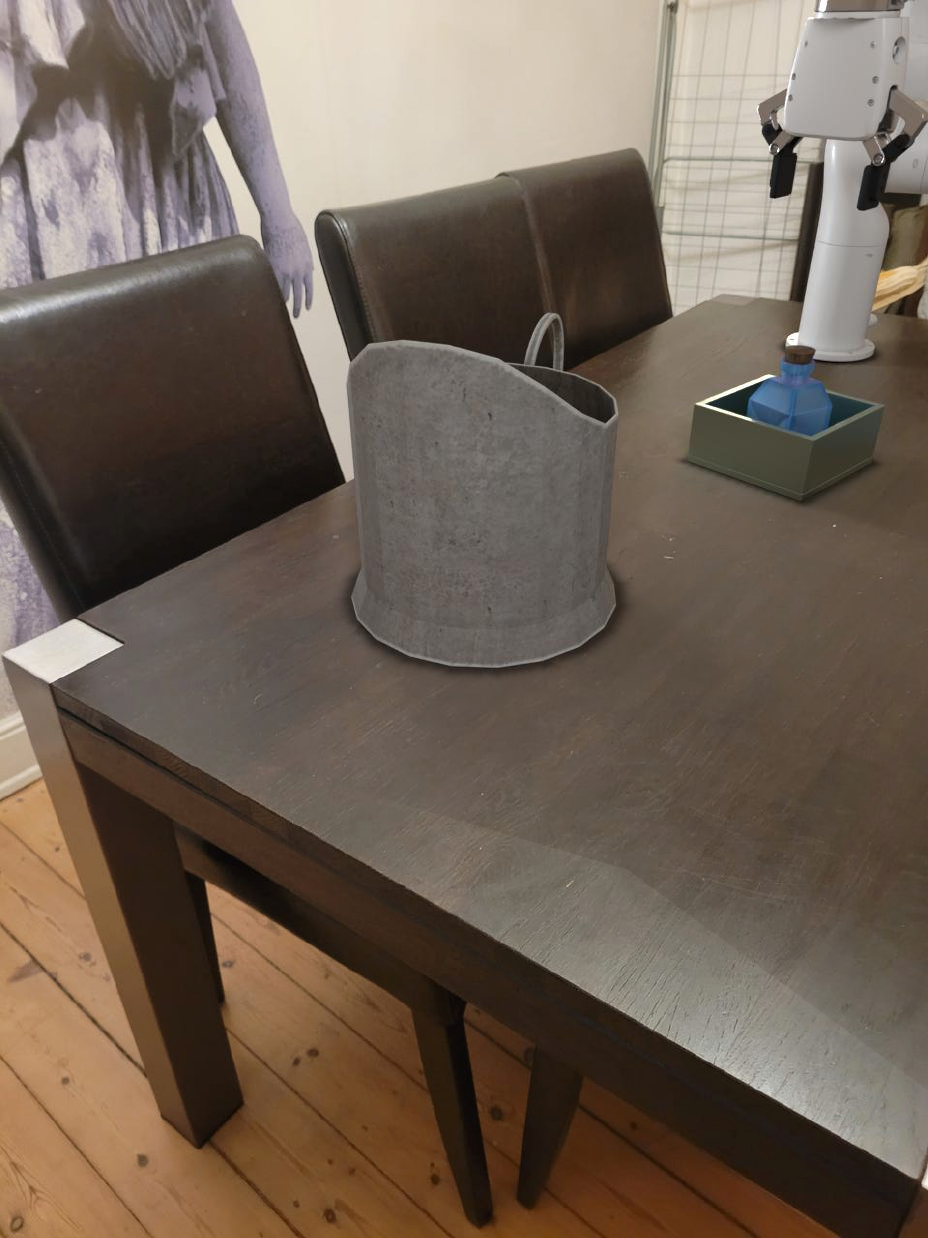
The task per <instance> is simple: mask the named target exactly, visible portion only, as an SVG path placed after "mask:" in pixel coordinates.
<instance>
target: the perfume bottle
mask: <svg viewBox="0 0 928 1238" xmlns="http://www.w3.org/2000/svg"><path fill="white" fill-rule="evenodd" d="M815 352H816V350H815V349H814V348H812V347H809V346H803V345H791V346H787V347H786V346H785V347H784V357H782V358H781V360H780V366H779V370H780V371H781V374H779V375H773V376H774V377H770V378H767V379H766V380H765V382H764V383H763V384H762V385H761V386H760V387H759V388H758V390H757V391H756V392H755V393H754V394H753V395H752V396H751V398H750V399H749V404H748V410H747V416H746V417H749V418H752V419H755V420H758V421H762V422H765V423H768V424H771V425H775V426H778V427H781V428H785V429H788V430H791V431H794V432H798V433H801V434H804V435H808V436H813V435H815V434H817V433H819V432H821V431H824V430H826V429H828V424H829V420H830V415H831V410H832V403H831V401H830V399H829V396H828V394H827V392H826V390H827V389H826V388H825V385H824V384H823V383H824V382H823V381H820V380H818V379H815V378H812V377H811V376H810V375H811V374H813V372H814V370H815V365H816V361H815V359H813V356H814V354H815ZM825 389H826V390H825Z"/></svg>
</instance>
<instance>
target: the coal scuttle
mask: <svg viewBox="0 0 928 1238" xmlns="http://www.w3.org/2000/svg"><path fill="white" fill-rule="evenodd" d="M550 325H551V327H552V332H553V334H552V335H553V361H552V363H553V364H552V368H551V367H548V366H541V365H535V364H536V360H537V356H538V353H539V349H540V345H541V343H542V340H543V338H544V335H545V333H546V331H547V329H548V328H549V326H550ZM564 351H565V334H564V325H563V321H562V318H561V316H560V315H559V314H558V313H554V312H547V313H545V314H544V315H543V316H542V317H541V318H540V319H539V321H538V323H537V324H536V326H535V328H534V330H533V332H532V335H531V338H530V340H529V342H528V346H527V349H526V352H525V357H524V361H523V363H516V362H505V361H503V360H502V359H500V358H498V357H494V356H491V355H487V354H484V353H480V352H476V351H473V350H469V349H466V348H462V347H458V346H453V345H450V344H445V343H444V344H443V343H435V342H426V341H419V340H409V339H398V340H391V341H383V342H372V343H368V344H367V345H366V346H365V347H364V348H363V349H361V351H360V352H359V353H358V354H357V356H355V358H353V360H351V362H350V363H349V365H348V371H347V377H346V383H345V384H346V387H345V388H346V397H347V398H346V399H347V411H348V421H349V434H350V446H351V447H350V448H351V457H352V469H353V470H352V471H353V480H354V481H353V483H354V495H355V505H356V516H357V518H356V519H357V531H358V541H359V553H360V566H361V568H360V570H359V573H358V575H357V579H356V582H355V584H354V588H353V590H352V592H351V596H350V598H351V602H352V605H353V609H354V613H355V617H356V620H357V621H358V622H359V623H360V624H361V625H362V626H363V627H364V628H365V629H366V630H367V631H368V633H370V635H371V636H372V637H373V638H374V639H375V640H376V641H378V642H380V643H382V644H384V645H386V646H388V647H390V648H392V649H394V650H396V651H397V652H400V653H402V654H404V655H406V656H407V657H409V658H410V657H411V658H415V659H419V660H423V661H426V662H430V663H435V664H440V665H444V666H449V667H456V668H457V667H459V668H460V667H461V668H484V669H485V668H487V669H489V668H490V669H500V668H506V667H512V666H520V665H526V664H533V663H539V662H544V661H546V660H549V659H552V658H554V657H557V656H560V655H563V654H564V653H567V652H570V651H573V650H576V649H578V648H580V647H581V646H583V645H584V644H585V643H587V642H588V641H589V640H590V639H592V638H593V637H594V636H596V635H597V634H598V633H600V632H601V631H602V630H604V629H605V627H606V626H607V624H608V621H609V620H610V617H611V616H612V614H613V612H614V610H615V608H616V606H617V602H616V593H615V584H614V581H613V578H612V576H611V572H610V571H609V568H608V566H607V558H608V546H609V534H610V524H611V523H610V522H611V509H612V498H613V487H614V486H613V485H614V474H615V463H616V462H615V461H616V449H617V437H618V426H619V408H618V404H617V399H616V398H615V397H614V396H613V395H612V393H610V392H609V391H608V390H606V388H605V387H603V386H602V385H601V384H599V383H597V382H594V381H592V380H590V379H588V378H585V377H583V376H581V375H578V374H576V373H573V372H568V371H564V354H565V353H564Z"/></svg>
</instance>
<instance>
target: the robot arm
mask: <svg viewBox="0 0 928 1238" xmlns="http://www.w3.org/2000/svg"><path fill="white" fill-rule="evenodd" d="M814 2H815V3H814V9H813V15H812V17H807V19H806V21H805V24H804V26H803V29H802V32H801V35H800V38H799V41H798V44H797V48H796V51H795V55H794V59H793V62H792V66H791V71H790V75H789V80H788V83H787V84H788V85H787V87H786V88H785V89H783V90H781V91H780V92H778V93H776V94H774V95H772V96H771V97H769V98H767V99H766V100H764V101H762V102H760V103H759V104H758V105H757V108H756V110H757V115H758V119H759V123H760V126H761V127H762V128H761V134H762V137H763V138H764V140H765V142H766V144H767V145H768V146H769V147H768V152H769V154H770V155H771V156H773V157H772V164H771V170H770V176H769V177H770V178H769V184H768V185H769V187H770V190H769V199H774V200H776V199H781V198H785V197H788V196H791V194H792V192H793V188H794V181H795V174H796V168H797V163H798V153H797V152H794V150H795V148H796V147H797V146H798V145H800V142H802V141H803V139H804V138H810V139H819V140H820V139H821V140H826V143H825V148H824V157H823V158H824V160H823V161H824V162H823V163H824V164H823V182H822V183H823V187H822V196H821V197H822V198H821V205H820V212H819V218H818V223H817V224H818V226H817V231H816V236H815V242H814V247H813V252H812V257H811V261H810V262H811V263H810V268H809V273H808V278H807V285H806V290H805V294H804V295H805V296H804V300H803V307H802V310H801V311H802V312H801V317H800V323H799V328H798V332H794V333H792V334H790V335H789V336H788V337H787V338H786V342H785V347H787V346H791V345H803V346H809V347H812V348H814V349H815V350H816V352H815V354H814V356H813V360H816V361H823V362H834V363H835V362H839V363H840V362H841V363H843V362H845V363H847V362H858V361H862V360H866V359H868V358H870V357H872V356H873V354H874V353H875V349H876V346H875V344H874V343H873V342H872V341H871V340H870V339H868V338H866V337H867V333H868V329H871V328H873V327H875V326H877V324H878V317H877V315H876V314H873V313H872V311H873V307H874V302H875V297H876V292H877V290H878V289H877V288H878V284H879V280H880V275H881V270H882V267H883V262H884V258H885V254H886V253H885V252H886V248H887V245H888V244H887V243H888V238H889V234H890V221H889V216H888V214H887V213H886V210H885V209H884V207H883V205H882V203H881V201H882V200H883V198H884V196H885V194H886V193H892V194H893V193H894V194H913V195H914V194H916V195H928V111H927V110H925V109H924V108H923V107H922V106H920V105H919V104H917V103H916V102H920V103H921V102H922V103H923V102H926V103H927V102H928V0H815V1H814ZM781 109H783V114H782V126H781V124H780V123H779V122H778V112H779V111H780V110H781ZM782 127H783V128H782Z"/></svg>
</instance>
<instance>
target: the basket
mask: <svg viewBox="0 0 928 1238" xmlns="http://www.w3.org/2000/svg"><path fill="white" fill-rule="evenodd" d="M774 376H775V375H773V374H766V375H762V376H760V377H758V378H756V379H754V380H751V381H748V382H746V383H743V384H741V385H738V386H736V387H733V388H730V389H729V390H725V391H723V392H721V393H718V394H715V395H713V396H710V397H709V398H705V399H703V400H701V401H698V402H696V403H694V406H693V412H692V413H693V414H692V419H691V420H692V421H691V429H690V436H689V444H688V453H687V459H686V461H687V462H689V463H691V464H692V463H693V464H695V465H698V466H701V467H703V468H705V469H708V470H711V471H714V472H718V473H720V474H722V475H725V476H729V477H730V478H731V477H732V478H734V479H737V480H739V481H742V482H745V483H747V484H751V485H752V486H753V485H754V486H756V487H759V488H762V489H765V490H767V491H770V492H772V493H776V494H778V495H782V496H785V497H787V498H790V499H793V500H796V501H798V502H804V501H806V500H807V499H809V498H810V497H813V496H814V495H816V494H818V493H819V492H822V491H823V490H825V489H827V488H829V487H830V486H832V485H834V484H836V483H838V482H839V481H841V480H843V479H845V478H847V477H848V476H850V475H852V474H853V473H856V472H858V471H859V470H861V469H863V468H864V467H867V466H868V465H870V464H872V462H873V457H874V453H875V448H876V445H877V441H878V437H879V434H880V430H881V429H880V428H881V425H882V420H883V416H884V412H885V408H886V404H883V403H877V402H875V401H871V400H867V399H863V398H859V397H855V396H851V395H849V394H844V393H841V392H837V391H833V390H830V389H826V388H825V390H826V392H827V394H828V396H829V399H830V401H831V403H832V410H831V415H830V420H829V424H828V429H826V430H824V431H821V432H819V433H817V434H815V435H813V436H808V435H804V434H801V433H798V432H794V431H791V430H788V429H785V428H781V427H778V426H775V425H771V424H768V423H765V422H762V421H758V420H755V419H752V418H749V417H746V416H747V410H748V404H749V399H750V398H751V396H752V395H753V394H754V393H755V392H756V391H757V390H758V388H759V387H760V386H761V385H762V384H763V383H764V382H765V380H766V379H767V378H770V377H774Z"/></svg>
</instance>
